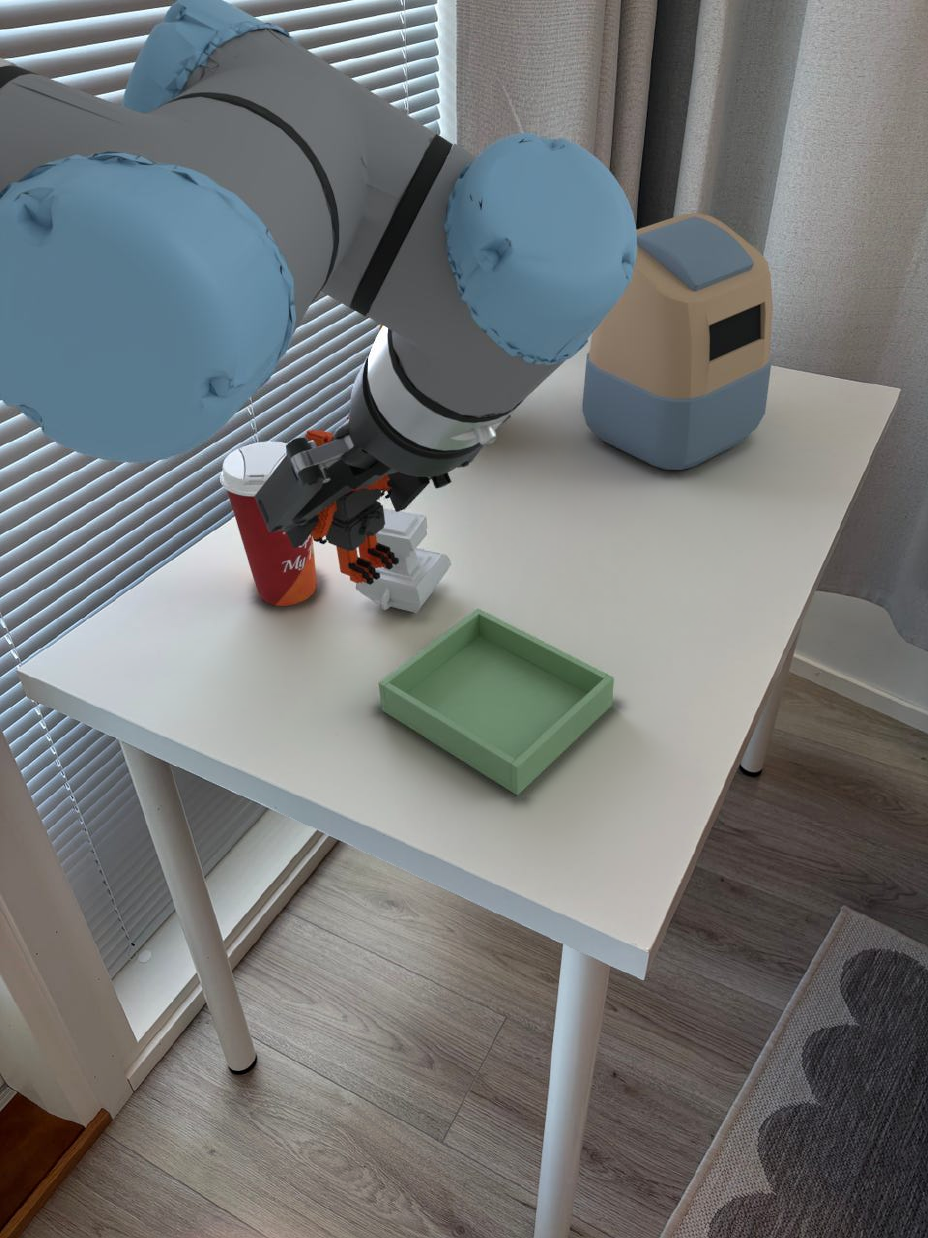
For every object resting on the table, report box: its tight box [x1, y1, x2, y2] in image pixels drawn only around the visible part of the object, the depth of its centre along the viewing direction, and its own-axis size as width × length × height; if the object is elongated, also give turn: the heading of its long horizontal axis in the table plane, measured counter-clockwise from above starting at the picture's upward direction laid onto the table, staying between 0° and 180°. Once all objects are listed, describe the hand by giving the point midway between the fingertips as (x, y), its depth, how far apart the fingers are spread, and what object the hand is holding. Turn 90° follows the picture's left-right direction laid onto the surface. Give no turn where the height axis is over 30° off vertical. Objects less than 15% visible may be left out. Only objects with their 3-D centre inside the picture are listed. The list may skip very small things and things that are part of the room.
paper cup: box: [219, 441, 317, 607], centre depth 87 cm, size 8×8×14 cm
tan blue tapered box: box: [581, 212, 774, 471], centre depth 103 cm, size 17×17×23 cm
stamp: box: [355, 508, 452, 614], centre depth 86 cm, size 9×7×8 cm
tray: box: [377, 608, 615, 796], centre depth 76 cm, size 14×12×3 cm
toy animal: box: [304, 413, 399, 585], centre depth 66 cm, size 8×6×12 cm
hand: (343, 511), depth 70 cm, fingers closed on toy animal, 8 cm apart
